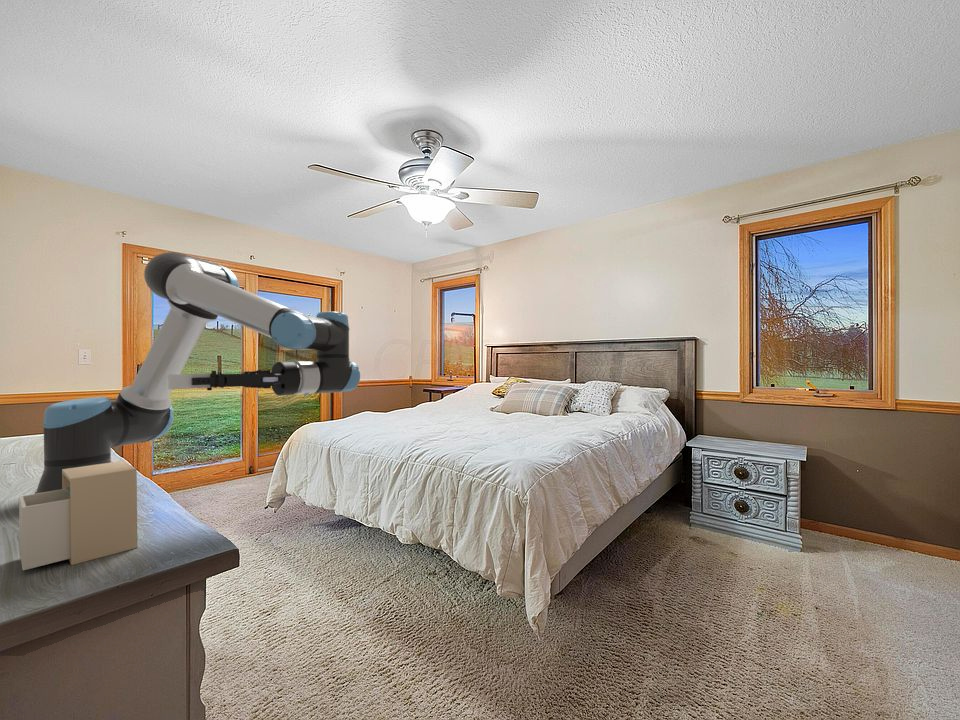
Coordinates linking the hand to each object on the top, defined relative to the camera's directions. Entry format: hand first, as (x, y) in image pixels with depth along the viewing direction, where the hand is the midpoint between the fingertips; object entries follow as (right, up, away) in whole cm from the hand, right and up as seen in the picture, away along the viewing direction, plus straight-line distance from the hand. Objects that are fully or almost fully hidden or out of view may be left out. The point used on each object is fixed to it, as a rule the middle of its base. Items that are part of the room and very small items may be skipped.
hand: (169, 381), depth 80 cm
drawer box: (-9, -26, -11) cm, 30 cm away
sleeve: (-6, -27, -8) cm, 29 cm away
